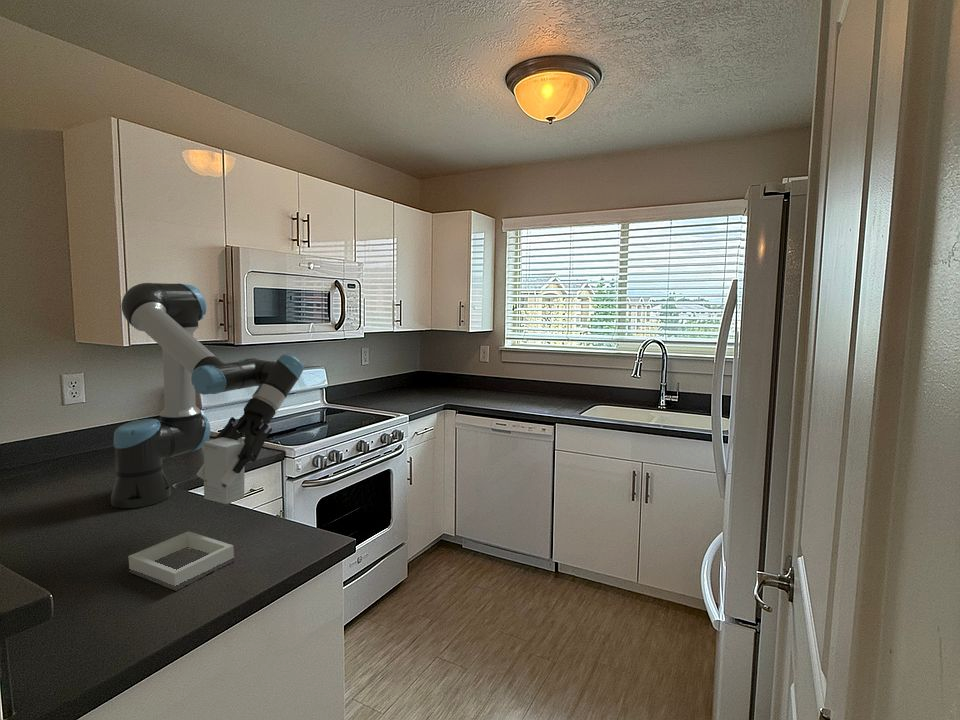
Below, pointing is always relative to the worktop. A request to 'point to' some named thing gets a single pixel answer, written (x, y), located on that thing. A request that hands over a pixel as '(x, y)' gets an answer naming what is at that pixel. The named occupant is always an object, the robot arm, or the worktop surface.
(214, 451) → the skincare box
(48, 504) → the worktop surface
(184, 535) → the tray
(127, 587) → the worktop surface
